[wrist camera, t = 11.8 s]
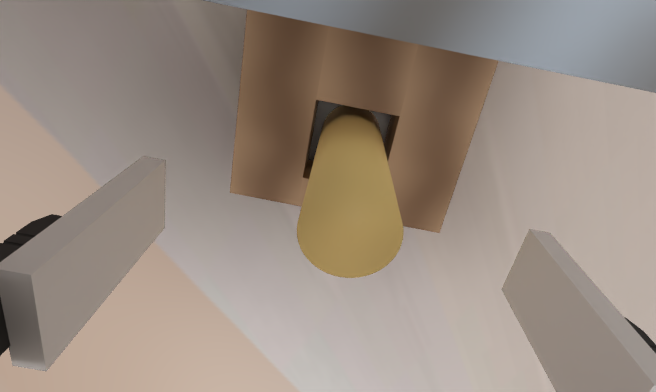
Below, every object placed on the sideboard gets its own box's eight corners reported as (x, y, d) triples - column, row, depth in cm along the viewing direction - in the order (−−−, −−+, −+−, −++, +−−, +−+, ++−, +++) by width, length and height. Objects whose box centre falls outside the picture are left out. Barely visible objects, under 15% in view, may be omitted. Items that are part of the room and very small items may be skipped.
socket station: (236, 172, 30) (106, 348, 14) (266, -130, 22) (63, -465, 7) (436, 211, 30) (528, 424, 14) (531, -73, 23) (928, -266, 7)
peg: (327, 98, 27) (306, 175, 14) (386, 110, 27) (415, 196, 15) (317, 155, 29) (289, 267, 16) (372, 165, 29) (388, 285, 16)
